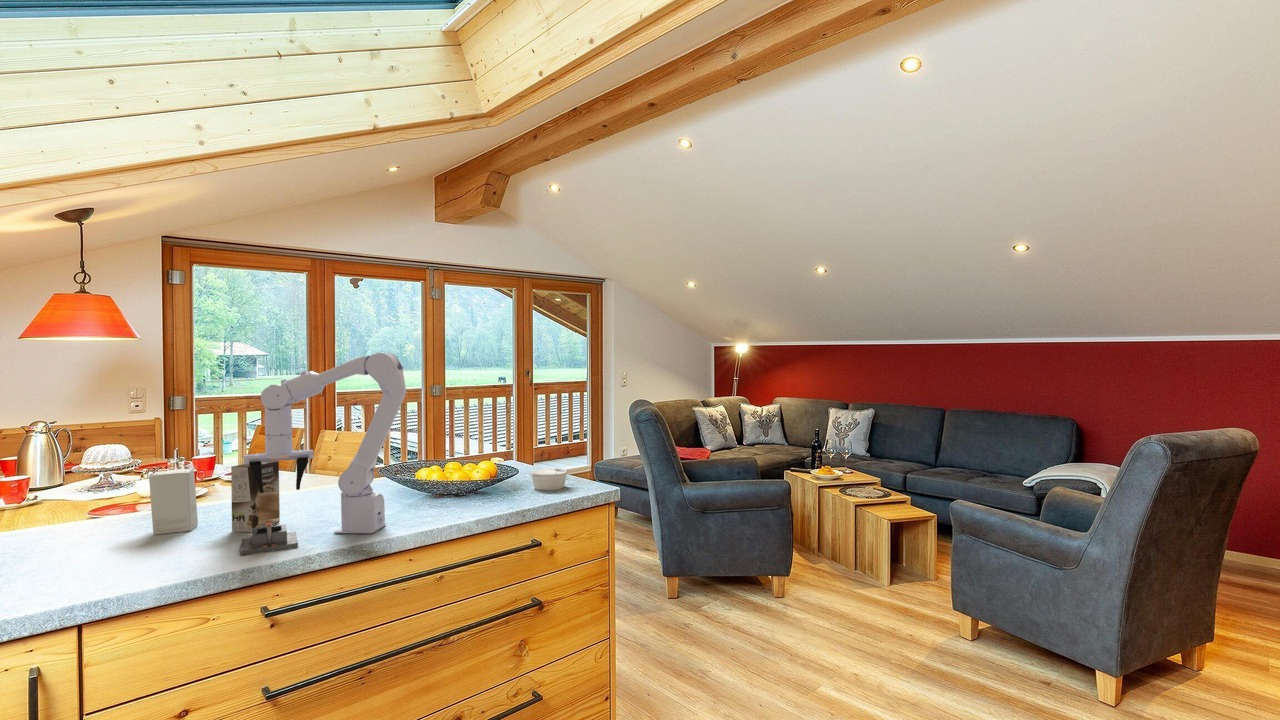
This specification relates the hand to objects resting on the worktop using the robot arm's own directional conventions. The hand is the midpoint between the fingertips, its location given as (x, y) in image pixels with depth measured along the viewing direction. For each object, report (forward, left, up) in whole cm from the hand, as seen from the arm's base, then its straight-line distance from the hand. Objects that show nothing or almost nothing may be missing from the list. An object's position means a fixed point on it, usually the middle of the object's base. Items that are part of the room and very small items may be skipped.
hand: (279, 490), depth 156 cm
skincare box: (+29, -3, -11) cm, 31 cm away
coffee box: (+10, -6, -11) cm, 16 cm away
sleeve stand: (-3, +9, -10) cm, 14 cm away
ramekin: (-55, -53, -11) cm, 77 cm away
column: (-3, +9, -5) cm, 11 cm away
